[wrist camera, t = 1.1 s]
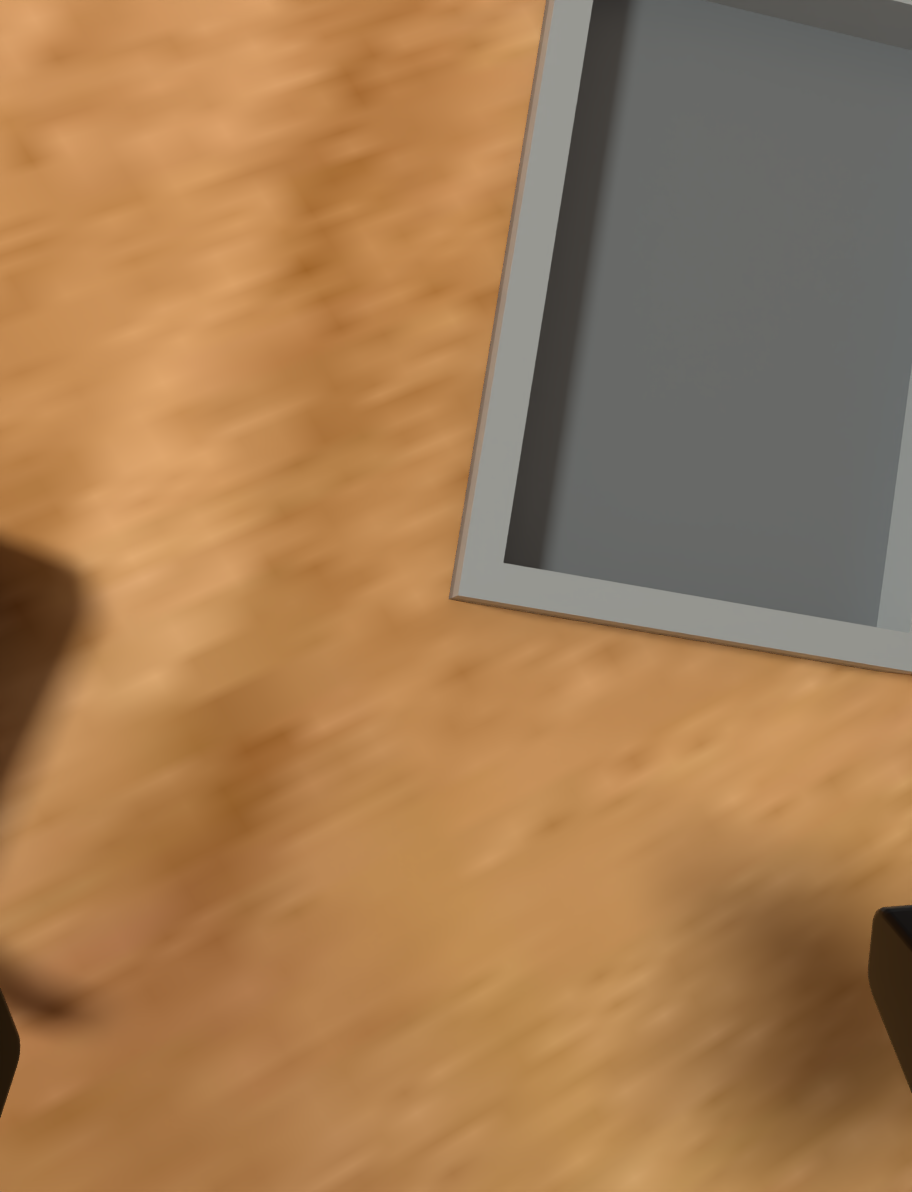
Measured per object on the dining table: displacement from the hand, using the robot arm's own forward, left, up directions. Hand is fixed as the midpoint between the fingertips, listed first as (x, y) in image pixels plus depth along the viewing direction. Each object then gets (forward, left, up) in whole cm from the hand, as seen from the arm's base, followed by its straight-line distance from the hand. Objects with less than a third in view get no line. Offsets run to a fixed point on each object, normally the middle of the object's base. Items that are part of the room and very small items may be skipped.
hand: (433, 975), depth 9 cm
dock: (0, -16, -15) cm, 22 cm away
